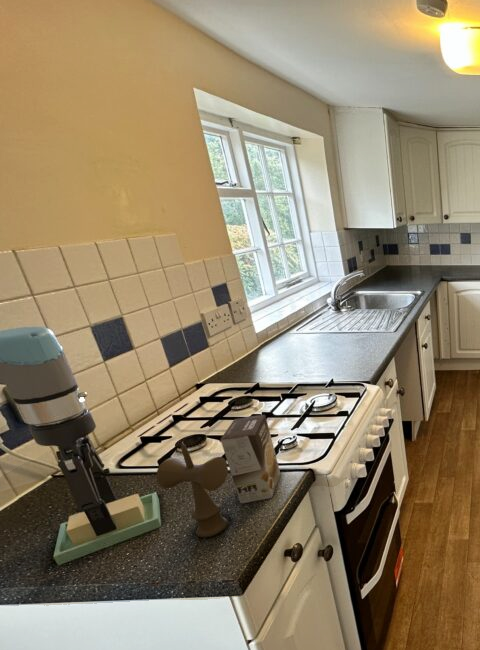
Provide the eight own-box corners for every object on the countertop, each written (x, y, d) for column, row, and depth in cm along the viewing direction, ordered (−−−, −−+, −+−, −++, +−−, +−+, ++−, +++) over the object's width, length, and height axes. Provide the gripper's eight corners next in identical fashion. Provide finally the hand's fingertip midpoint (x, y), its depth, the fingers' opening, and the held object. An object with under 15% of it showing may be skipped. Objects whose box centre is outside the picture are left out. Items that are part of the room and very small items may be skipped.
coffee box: (273, 498, 89) (255, 435, 83) (239, 504, 87) (218, 440, 81) (281, 473, 97) (265, 413, 91) (251, 478, 95) (232, 418, 89)
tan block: (75, 547, 76) (66, 531, 74) (77, 532, 79) (69, 516, 78) (145, 522, 82) (138, 506, 80) (144, 508, 85) (137, 493, 84)
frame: (58, 565, 73) (53, 556, 72) (65, 532, 80) (60, 523, 79) (161, 526, 81) (157, 518, 81) (158, 499, 89) (155, 491, 88)
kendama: (227, 542, 78) (196, 453, 70) (177, 541, 78) (141, 452, 70) (246, 519, 83) (220, 435, 76) (200, 518, 84) (169, 434, 76)
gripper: (83, 433, 66) (133, 540, 74) (92, 389, 81) (133, 483, 89) (13, 451, 61) (75, 562, 70) (37, 401, 76) (85, 498, 85)
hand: (108, 518), depth 80 cm, fingers open, 9 cm apart
